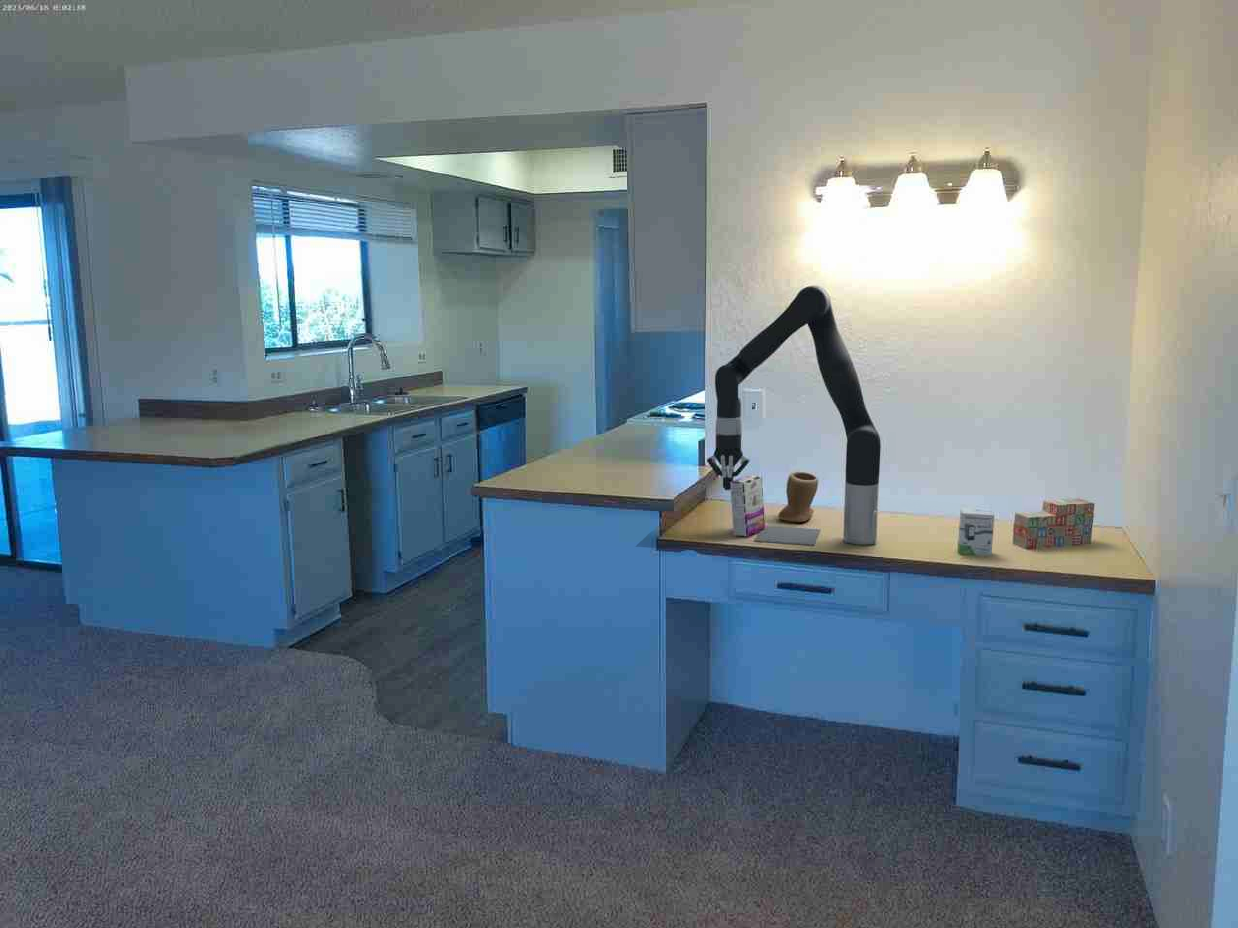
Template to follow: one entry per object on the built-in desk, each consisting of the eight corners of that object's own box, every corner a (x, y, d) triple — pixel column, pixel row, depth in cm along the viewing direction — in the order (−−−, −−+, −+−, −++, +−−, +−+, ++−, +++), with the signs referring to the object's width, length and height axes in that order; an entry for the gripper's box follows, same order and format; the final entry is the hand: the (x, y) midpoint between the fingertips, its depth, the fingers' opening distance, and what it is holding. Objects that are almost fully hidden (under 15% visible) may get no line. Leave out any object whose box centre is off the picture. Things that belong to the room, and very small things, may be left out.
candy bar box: (751, 527, 295) (748, 474, 292) (765, 528, 292) (762, 475, 289) (732, 535, 286) (729, 481, 284) (747, 537, 283) (744, 482, 281)
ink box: (958, 554, 266) (961, 512, 263) (957, 549, 270) (959, 508, 268) (992, 556, 263) (994, 514, 261) (990, 551, 268) (993, 510, 266)
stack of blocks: (1026, 549, 270) (1029, 506, 268) (1011, 544, 276) (1014, 502, 274) (1091, 544, 275) (1095, 502, 273) (1076, 538, 281) (1079, 497, 279)
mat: (820, 530, 292) (820, 529, 292) (813, 545, 275) (814, 544, 275) (763, 526, 297) (763, 525, 296) (754, 541, 280) (754, 540, 280)
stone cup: (812, 526, 297) (814, 478, 294) (774, 522, 302) (775, 475, 299) (822, 515, 311) (824, 469, 308) (786, 512, 315) (787, 466, 312)
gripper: (753, 431, 287) (752, 488, 290) (709, 429, 291) (708, 485, 294) (748, 434, 280) (747, 493, 283) (703, 433, 284) (703, 491, 287)
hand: (727, 489), depth 289 cm, fingers closed
